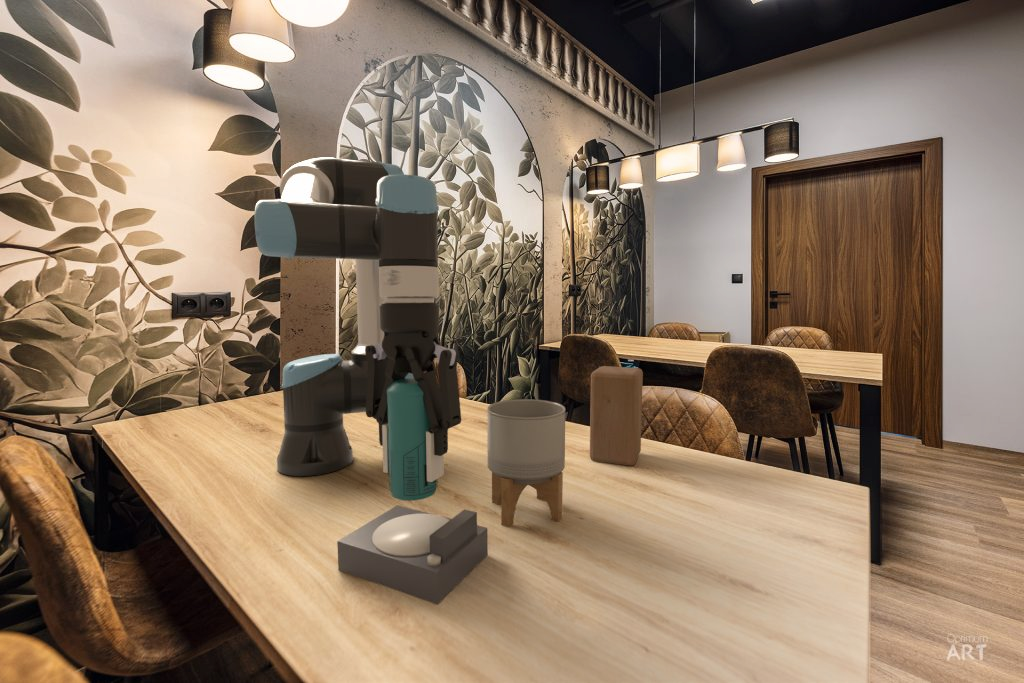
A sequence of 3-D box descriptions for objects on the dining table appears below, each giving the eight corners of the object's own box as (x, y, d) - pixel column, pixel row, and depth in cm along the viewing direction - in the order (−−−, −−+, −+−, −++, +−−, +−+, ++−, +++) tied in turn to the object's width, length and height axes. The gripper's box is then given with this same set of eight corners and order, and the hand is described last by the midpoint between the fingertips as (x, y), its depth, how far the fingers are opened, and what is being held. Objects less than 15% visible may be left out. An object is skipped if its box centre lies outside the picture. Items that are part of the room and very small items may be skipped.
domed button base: (338, 569, 63) (336, 519, 62) (397, 529, 74) (396, 486, 73) (437, 604, 56) (436, 548, 55) (487, 554, 67) (487, 507, 66)
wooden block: (588, 461, 104) (590, 371, 102) (598, 448, 113) (599, 365, 111) (635, 467, 100) (637, 374, 98) (641, 453, 110) (643, 367, 108)
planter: (541, 537, 72) (542, 422, 70) (472, 516, 78) (471, 410, 77) (576, 505, 83) (578, 404, 81) (513, 489, 89) (513, 396, 88)
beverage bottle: (427, 514, 60) (425, 358, 58) (379, 510, 61) (375, 357, 59) (445, 494, 66) (443, 352, 65) (401, 490, 68) (397, 351, 66)
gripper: (332, 301, 62) (338, 470, 65) (457, 301, 54) (459, 497, 56) (372, 300, 69) (377, 454, 71) (489, 301, 60) (490, 476, 63)
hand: (413, 473), depth 64 cm, fingers closed on beverage bottle, 6 cm apart
